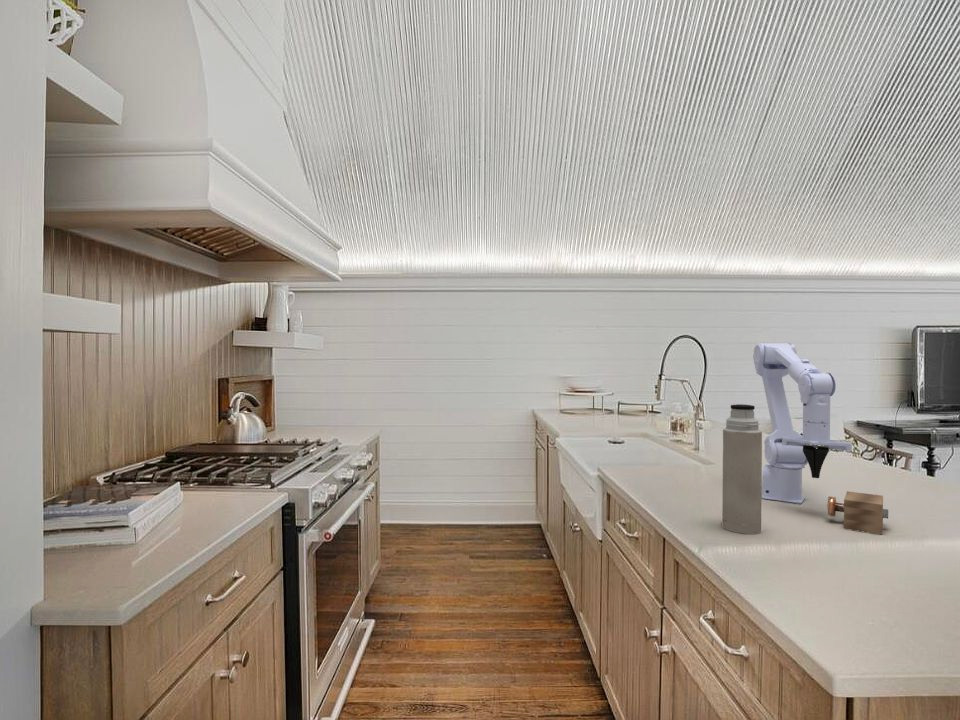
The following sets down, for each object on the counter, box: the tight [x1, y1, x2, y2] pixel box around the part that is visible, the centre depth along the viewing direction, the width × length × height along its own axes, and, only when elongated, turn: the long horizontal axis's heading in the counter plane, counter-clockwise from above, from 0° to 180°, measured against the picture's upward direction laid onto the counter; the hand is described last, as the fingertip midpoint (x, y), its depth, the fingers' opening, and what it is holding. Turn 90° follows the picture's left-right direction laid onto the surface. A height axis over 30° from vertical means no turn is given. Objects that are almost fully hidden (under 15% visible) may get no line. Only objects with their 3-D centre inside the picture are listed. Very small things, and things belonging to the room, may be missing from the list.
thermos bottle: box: [721, 403, 763, 535], centre depth 125 cm, size 8×8×28 cm
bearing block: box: [843, 490, 884, 535], centre depth 128 cm, size 7×10×7 cm
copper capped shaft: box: [827, 495, 889, 519], centre depth 128 cm, size 11×4×4 cm, turn 53°
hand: (815, 477), depth 136 cm, fingers closed
